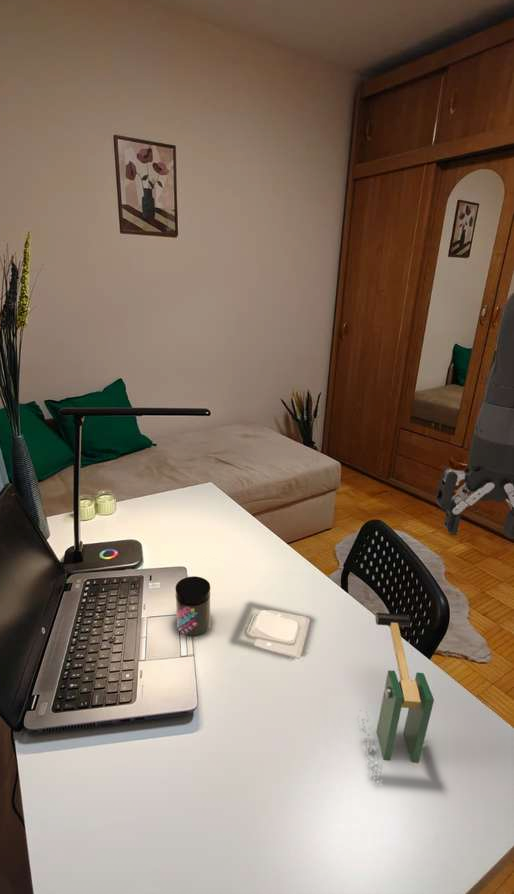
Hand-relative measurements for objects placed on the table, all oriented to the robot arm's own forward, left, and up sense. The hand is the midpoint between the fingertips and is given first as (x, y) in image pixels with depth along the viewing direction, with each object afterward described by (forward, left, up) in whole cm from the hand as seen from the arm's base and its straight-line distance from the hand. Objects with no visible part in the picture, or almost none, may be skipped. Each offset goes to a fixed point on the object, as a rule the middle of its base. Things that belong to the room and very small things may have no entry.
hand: (479, 534), depth 68 cm
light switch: (+30, -8, -30) cm, 43 cm away
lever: (+12, +9, -17) cm, 23 cm away
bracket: (+12, +14, -30) cm, 35 cm away
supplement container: (+46, -8, -30) cm, 56 cm away
